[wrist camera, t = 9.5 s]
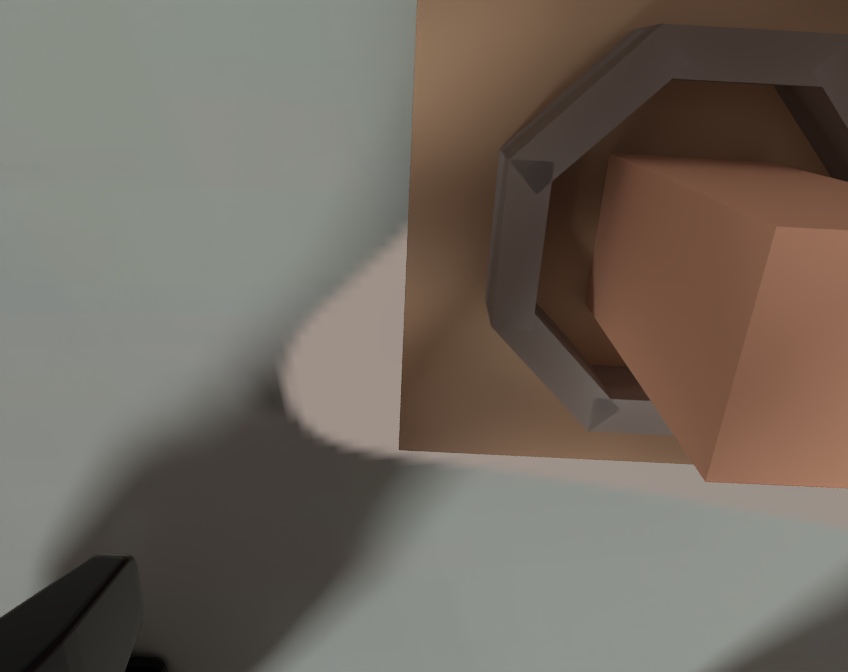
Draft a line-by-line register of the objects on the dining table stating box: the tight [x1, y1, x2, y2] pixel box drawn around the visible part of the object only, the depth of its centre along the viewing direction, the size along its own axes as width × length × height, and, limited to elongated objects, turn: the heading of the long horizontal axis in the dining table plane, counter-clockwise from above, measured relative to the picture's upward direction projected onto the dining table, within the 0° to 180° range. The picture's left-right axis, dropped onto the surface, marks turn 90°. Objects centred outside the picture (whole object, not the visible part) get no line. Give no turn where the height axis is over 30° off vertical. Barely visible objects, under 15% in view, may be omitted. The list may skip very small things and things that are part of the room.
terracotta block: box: [585, 153, 848, 488], centre depth 12 cm, size 4×4×8 cm
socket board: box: [399, 0, 848, 464], centre depth 16 cm, size 14×14×3 cm
